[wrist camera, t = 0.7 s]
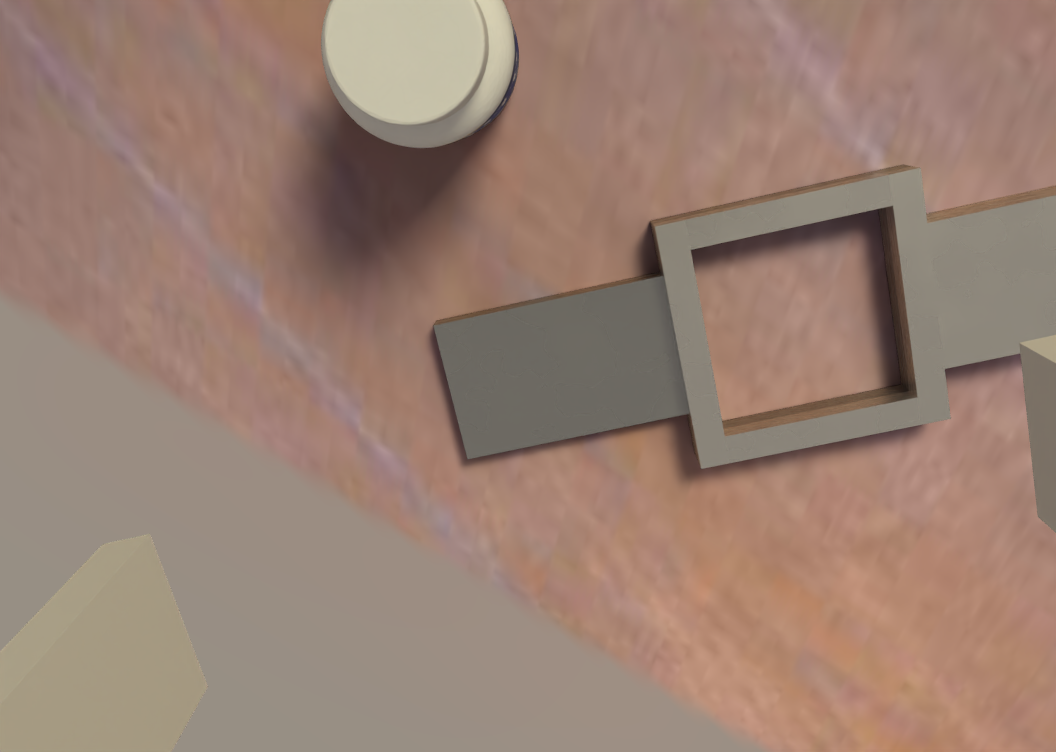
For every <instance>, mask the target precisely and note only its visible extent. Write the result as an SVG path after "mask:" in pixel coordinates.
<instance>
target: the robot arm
mask: <svg viewBox="0 0 1056 752" xmlns="http://www.w3.org/2000/svg"><path fill="white" fill-rule="evenodd" d="M1019 345H1020V354H1021V364H1022V373H1023V383H1024V392H1025V401H1026V411H1027V420H1028V429H1029V439H1030V448H1031V457H1032V467H1033V476H1034V486H1035V495H1036V504H1037V514H1038V517H1039V518H1040V519H1041V520H1042V521H1043V522H1044V523H1045V524H1047V525H1048V526H1049V527H1050V528H1051V529H1052V530H1053V531H1054V532H1056V335H1053V336H1048V337H1044V338H1039V339H1035V340H1030V341H1025V342H1021V343H1019ZM207 687H208V686H207V683H206V680H205V678H204V675H203V673H202V670H201V667H200V665H199V662H198V659H197V657H196V654H195V652H194V649H193V646H192V643H191V641H190V638H189V636H188V633H187V630H186V628H185V625H184V622H183V620H182V617H181V615H180V612H179V609H178V607H177V604H176V602H175V599H174V596H173V594H172V591H171V588H170V586H169V583H168V580H167V578H166V575H165V572H164V570H163V567H162V564H161V562H160V560H159V557H158V554H157V551H156V549H155V546H154V543H153V541H152V538H151V536H150V534H147V535H143V536H138V537H134V538H129V539H124V540H120V541H115V542H111V543H106V544H103V545H102V546H101V547H100V548H99V549H98V550H97V551H96V552H95V553H94V554H93V555H92V556H91V557H90V558H89V559H88V561H86V562H85V564H84V565H83V566H82V567H81V568H80V569H79V570H78V571H77V572H76V573H75V574H74V575H73V576H72V577H71V578H70V579H69V580H68V581H67V582H66V583H65V584H64V585H63V586H62V588H61V589H60V590H59V591H58V592H57V593H56V594H55V595H54V596H53V597H52V598H51V599H50V600H49V601H48V602H47V603H46V604H45V605H44V606H43V607H42V608H41V610H40V611H39V612H38V613H37V614H36V615H35V616H34V617H33V618H32V619H31V620H30V621H29V622H28V623H27V624H26V625H25V626H24V627H23V628H22V629H21V630H20V631H19V633H18V634H17V635H16V636H15V637H14V638H13V639H12V640H11V641H10V642H9V643H8V644H7V645H6V646H5V647H4V648H3V649H2V650H1V651H0V752H172V750H173V748H174V746H175V745H176V743H177V741H178V739H179V738H180V736H181V733H182V732H183V730H184V729H185V727H186V725H187V723H188V721H189V720H190V718H191V716H192V714H193V712H194V711H195V709H196V707H197V705H198V704H199V702H200V700H201V698H202V696H203V695H204V693H205V691H206V689H207Z"/></svg>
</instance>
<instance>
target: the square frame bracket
mask: <svg viewBox="0 0 1056 752" xmlns="http://www.w3.org/2000/svg"><path fill="white" fill-rule="evenodd" d="M875 209H879V217H880V224H881V232H882V239H883V247H884V255H885V262H886V270H887V277H888V285H889V292H890V300H891V307H892V315H893V323H894V330H895V338H896V345H897V353H898V360H899V368H900V376H901V383H902V384H901V385H896V386H891V387H886V388H882V389H877V390H872V391H867V392H862V393H857V394H852V395H847V396H842V397H838V398H833V399H828V400H823V401H818V402H813V403H808V404H803V405H799V406H794V407H789V408H784V409H779V410H774V411H769V412H764V413H759V414H755V415H750V416H745V417H740V418H735V419H730V420H725V421H722V418H721V413H720V407H719V402H718V397H717V391H716V386H715V380H714V375H713V369H712V364H711V358H710V353H709V347H708V342H707V336H706V331H705V326H704V320H703V315H702V309H701V304H700V298H699V293H698V287H697V282H696V276H695V271H694V265H693V260H692V255H691V250H692V249H697V248H702V247H706V246H711V245H715V244H720V243H724V242H729V241H734V240H738V239H743V238H747V237H752V236H756V235H761V234H765V233H770V232H775V231H779V230H784V229H788V228H793V227H797V226H802V225H807V224H811V223H816V222H820V221H825V220H829V219H834V218H839V217H843V216H848V215H852V214H857V213H861V212H866V211H871V210H875ZM650 223H651V228H652V233H653V239H654V244H655V249H656V254H657V259H658V265H659V270H660V272H658V273H653V274H648V275H644V276H639V277H635V278H630V279H625V280H621V281H616V282H612V283H607V284H602V285H598V286H593V287H589V288H584V289H580V290H575V291H570V292H566V293H561V294H557V295H552V296H547V297H543V298H538V299H534V300H529V301H524V302H520V303H515V304H511V305H506V306H501V307H497V308H492V309H488V310H483V311H478V312H474V313H469V314H465V315H460V316H456V317H451V318H446V319H442V320H437V321H436V322H435V324H434V325H433V326H434V330H435V334H436V338H437V342H438V346H439V350H440V354H441V358H442V361H443V365H444V369H445V373H446V377H447V381H448V385H449V389H450V393H451V397H452V401H453V404H454V408H455V412H456V416H457V420H458V424H459V428H460V432H461V436H462V440H463V444H464V447H465V451H466V455H467V459H472V458H476V457H481V456H486V455H491V454H496V453H501V452H506V451H510V450H515V449H520V448H525V447H530V446H535V445H540V444H544V443H549V442H554V441H559V440H564V439H569V438H574V437H578V436H583V435H588V434H593V433H598V432H603V431H608V430H612V429H617V428H622V427H627V426H632V425H637V424H642V423H647V422H651V421H656V420H661V419H666V418H671V417H676V416H681V415H685V414H687V415H688V421H689V426H690V431H691V436H692V441H693V447H694V452H695V455H696V457H697V460H698V462H699V465H700V467H701V469H704V468H709V467H714V466H719V465H724V464H728V463H733V462H738V461H743V460H748V459H753V458H758V457H763V456H768V455H773V454H778V453H783V452H788V451H793V450H798V449H803V448H808V447H813V446H818V445H823V444H828V443H833V442H838V441H843V440H848V439H853V438H858V437H863V436H868V435H873V434H878V433H883V432H888V431H892V430H897V429H902V428H907V427H912V426H917V425H922V424H927V423H932V422H937V421H942V420H947V419H951V417H950V409H949V400H948V392H947V384H946V375H945V369H947V368H952V367H957V366H962V365H966V364H971V363H976V362H981V361H986V360H991V359H996V358H1001V357H1005V356H1010V355H1015V354H1020V345H1019V343H1021V342H1025V341H1030V340H1035V339H1039V338H1044V337H1048V336H1053V335H1056V186H1053V187H1048V188H1043V189H1039V190H1034V191H1030V192H1025V193H1020V194H1016V195H1011V196H1007V197H1002V198H998V199H993V200H988V201H984V202H979V203H975V204H970V205H965V206H961V207H956V208H952V209H947V210H942V211H938V212H933V213H929V214H926V209H925V200H924V192H923V184H922V175H921V168H919V167H914V166H908V165H900V166H895V167H891V168H886V169H882V170H877V171H873V172H868V173H864V174H859V175H855V176H850V177H846V178H841V179H837V180H832V181H828V182H823V183H819V184H814V185H810V186H805V187H801V188H796V189H792V190H787V191H783V192H778V193H774V194H769V195H765V196H760V197H756V198H751V199H747V200H742V201H738V202H733V203H729V204H724V205H720V206H715V207H711V208H706V209H702V210H697V211H692V212H688V213H683V214H679V215H674V216H670V217H665V218H661V219H656V220H652V221H650Z"/></svg>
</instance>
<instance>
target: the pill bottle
mask: <svg viewBox="0 0 1056 752" xmlns="http://www.w3.org/2000/svg"><path fill="white" fill-rule="evenodd" d="M321 49H322V59H323V65H324V69H325V73H326V76H327V80H328V82H329V84H330V86H331V89H332V91H333V93H334V95H335V96H336V98H337V100H338V102H339V103H340V105H341V106H342V107H343V109H344V110H345V111H346V113H347V114H348V115H349V116H350V117H351V118H352V119H353V120H354V121H355V122H356V123H357V124H358V125H360V126H361V127H362V128H363V129H365V130H366V131H368V132H369V133H371V134H372V135H374V136H376V137H378V138H380V139H382V140H384V141H387V142H390V143H393V144H396V145H400V146H405V147H412V148H433V147H439V146H443V145H447V144H450V143H453V142H455V141H458V140H461V139H463V138H466V137H468V136H470V135H472V134H474V133H476V132H478V131H479V130H481V129H483V128H484V127H485V126H487V125H488V124H489V123H491V122H492V121H493V120H494V119H495V118H496V117H497V116H498V115H499V113H500V112H501V111H502V110H503V108H504V107H505V105H506V104H507V102H508V100H509V98H510V96H511V94H512V92H513V89H514V86H515V83H516V79H517V74H518V67H519V49H518V42H517V37H516V33H515V30H514V27H513V24H512V21H511V18H510V16H509V13H508V10H507V8H506V6H505V4H504V1H503V0H331V1H330V3H329V6H328V8H327V11H326V15H325V18H324V23H323V28H322V36H321Z"/></svg>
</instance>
